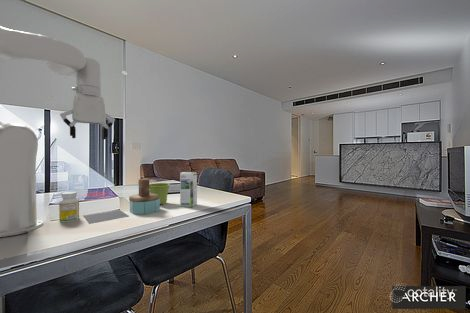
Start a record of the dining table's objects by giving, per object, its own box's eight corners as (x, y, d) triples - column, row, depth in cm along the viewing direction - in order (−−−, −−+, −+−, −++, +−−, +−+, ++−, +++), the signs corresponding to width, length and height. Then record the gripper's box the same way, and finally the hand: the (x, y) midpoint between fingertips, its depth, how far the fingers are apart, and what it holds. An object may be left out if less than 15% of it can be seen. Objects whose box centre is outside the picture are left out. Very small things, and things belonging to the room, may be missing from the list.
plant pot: (173, 201, 104) (173, 183, 104) (165, 206, 95) (164, 186, 95) (154, 201, 105) (154, 182, 105) (144, 206, 96) (143, 185, 96)
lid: (134, 203, 79) (134, 182, 79) (125, 198, 87) (125, 179, 87) (162, 199, 86) (162, 179, 86) (152, 195, 94) (151, 177, 94)
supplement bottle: (71, 223, 72) (71, 194, 72) (55, 223, 72) (54, 194, 72) (83, 218, 78) (82, 191, 77) (67, 218, 78) (67, 191, 77)
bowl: (136, 217, 79) (136, 203, 79) (127, 211, 86) (127, 199, 86) (163, 212, 86) (163, 199, 86) (152, 207, 93) (152, 195, 93)
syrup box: (179, 206, 94) (179, 172, 94) (185, 203, 100) (185, 171, 100) (192, 207, 93) (192, 172, 93) (197, 204, 99) (197, 171, 99)
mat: (89, 225, 70) (89, 223, 70) (82, 217, 79) (82, 215, 79) (129, 217, 78) (129, 216, 78) (119, 211, 87) (119, 209, 87)
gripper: (60, 86, 75) (61, 137, 75) (117, 95, 86) (117, 139, 87) (58, 90, 80) (59, 138, 80) (111, 98, 92) (112, 139, 92)
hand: (89, 138), depth 83 cm, fingers open, 9 cm apart
